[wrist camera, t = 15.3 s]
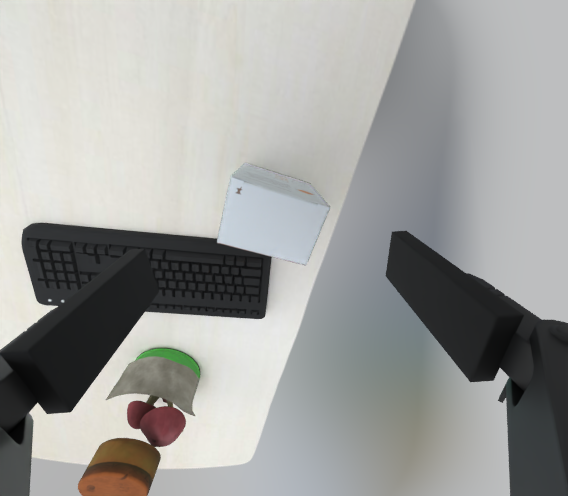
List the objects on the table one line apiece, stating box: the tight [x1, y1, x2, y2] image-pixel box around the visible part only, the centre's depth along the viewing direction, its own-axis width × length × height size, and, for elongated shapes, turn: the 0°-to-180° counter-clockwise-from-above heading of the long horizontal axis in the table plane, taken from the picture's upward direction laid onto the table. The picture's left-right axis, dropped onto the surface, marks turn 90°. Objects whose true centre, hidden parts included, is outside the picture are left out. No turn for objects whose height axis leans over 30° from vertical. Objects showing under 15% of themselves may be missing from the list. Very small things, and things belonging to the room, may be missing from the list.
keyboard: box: [22, 223, 271, 319], centre depth 31 cm, size 30×11×2 cm, turn 83°
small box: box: [217, 163, 330, 265], centre depth 23 cm, size 8×6×10 cm
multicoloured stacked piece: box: [78, 348, 200, 496], centre depth 33 cm, size 12×13×15 cm
